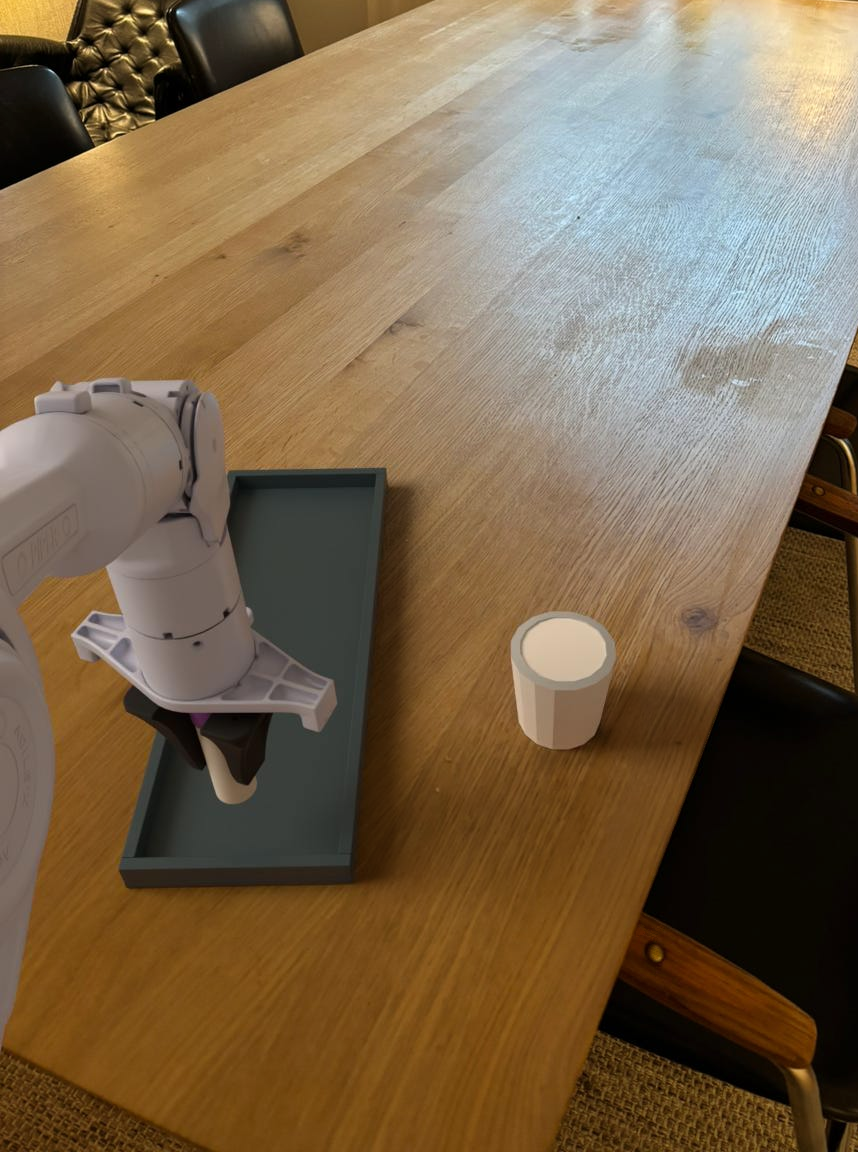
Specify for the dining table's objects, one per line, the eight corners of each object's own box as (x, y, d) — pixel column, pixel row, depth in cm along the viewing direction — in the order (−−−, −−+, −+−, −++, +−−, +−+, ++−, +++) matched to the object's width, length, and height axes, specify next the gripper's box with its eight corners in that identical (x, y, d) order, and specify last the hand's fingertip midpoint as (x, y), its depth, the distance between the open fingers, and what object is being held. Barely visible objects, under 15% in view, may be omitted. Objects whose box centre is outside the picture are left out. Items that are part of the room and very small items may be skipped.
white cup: (489, 726, 70) (489, 658, 65) (543, 663, 74) (546, 595, 70) (576, 774, 67) (582, 706, 62) (626, 705, 71) (635, 637, 67)
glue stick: (244, 811, 59) (216, 713, 53) (205, 798, 60) (173, 700, 54) (266, 775, 61) (242, 677, 55) (228, 763, 62) (200, 664, 56)
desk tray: (353, 884, 61) (350, 865, 60) (125, 888, 61) (117, 869, 60) (387, 486, 90) (386, 467, 88) (232, 488, 90) (228, 470, 88)
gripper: (352, 577, 51) (373, 744, 60) (106, 513, 55) (160, 679, 64) (283, 681, 46) (318, 846, 55) (18, 603, 50) (91, 769, 59)
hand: (229, 763), depth 59 cm, fingers closed on glue stick, 2 cm apart
